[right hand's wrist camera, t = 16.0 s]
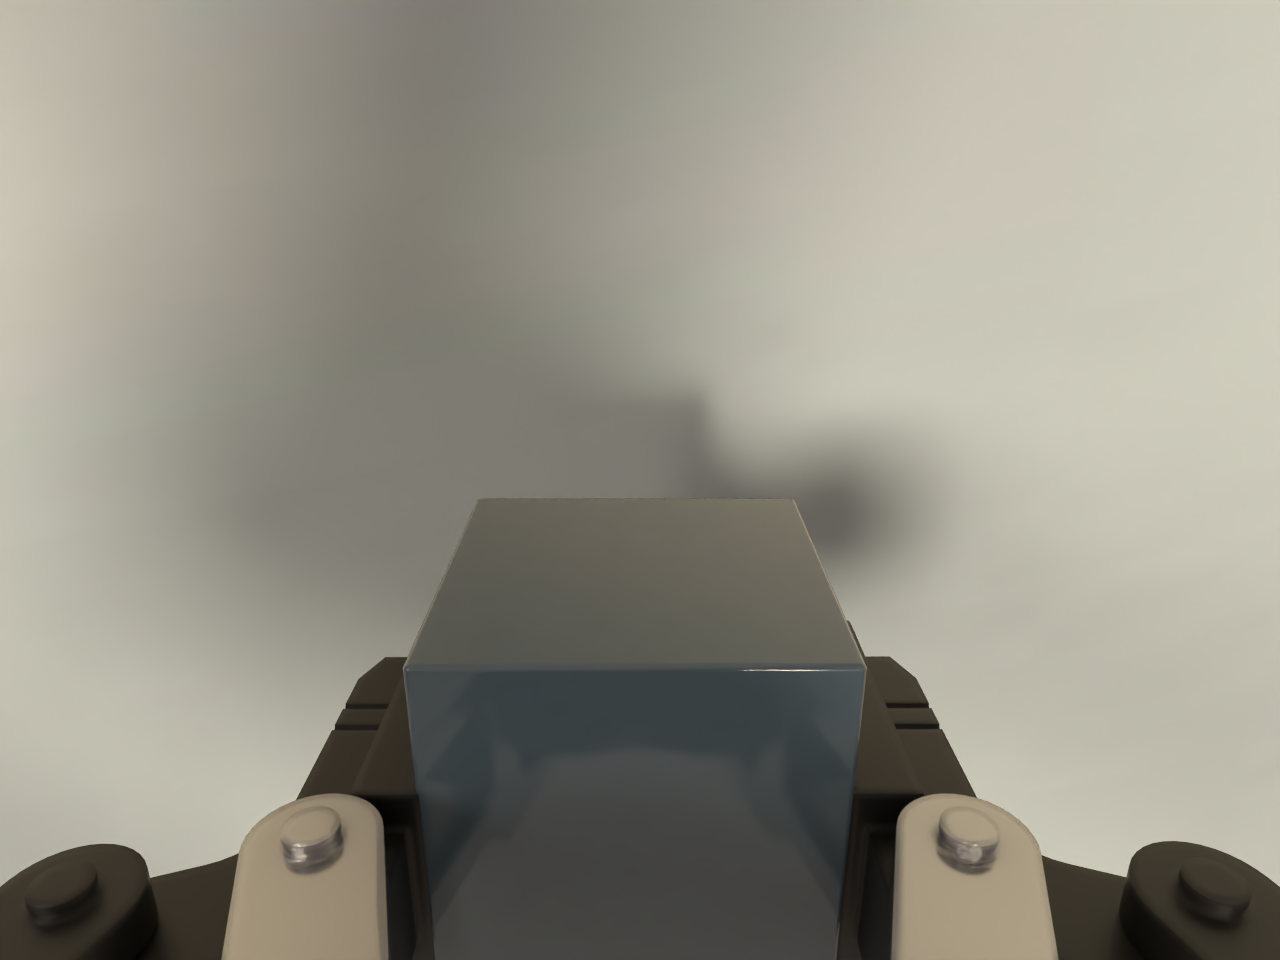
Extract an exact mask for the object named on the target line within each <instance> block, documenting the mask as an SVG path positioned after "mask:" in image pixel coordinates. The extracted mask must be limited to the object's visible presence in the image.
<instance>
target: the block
mask: <svg viewBox="0 0 1280 960" xmlns="http://www.w3.org/2000/svg"><path fill="white" fill-rule="evenodd" d="M866 672H867V668H866V665H865V663H864V660H863V658H862V656H861V653H860V651H859V649H858V646H857V644H856V642H855V639H854V637H853V635H852V632H851V630H850V628H849V625H848V623H847V621H846V618H845V616H844V614H843V611H842V609H841V607H840V605H839V602H838V600H837V598H836V595H835V593H834V591H833V588H832V586H831V584H830V581H829V579H828V577H827V574H826V572H825V570H824V567H823V565H822V563H821V560H820V558H819V556H818V554H817V551H816V549H815V547H814V544H813V542H812V540H811V537H810V535H809V533H808V530H807V528H806V526H805V523H804V521H803V519H802V516H801V514H800V512H799V509H798V507H797V505H796V503H795V500H793V499H479V500H477V503H476V505H475V507H474V509H473V512H472V514H471V516H470V518H469V521H468V523H467V525H466V527H465V530H464V532H463V534H462V536H461V539H460V541H459V543H458V545H457V547H456V550H455V552H454V554H453V556H452V559H451V561H450V563H449V565H448V568H447V570H446V572H445V574H444V577H443V579H442V581H441V583H440V586H439V588H438V590H437V592H436V595H435V597H434V599H433V601H432V604H431V606H430V608H429V610H428V613H427V615H426V617H425V619H424V622H423V624H422V626H421V628H420V631H419V633H418V635H417V637H416V639H415V642H414V644H413V646H412V648H411V651H410V653H409V655H408V657H407V660H406V662H405V664H404V667H403V675H404V685H405V694H406V704H407V713H408V723H409V732H410V742H411V751H412V761H413V770H414V780H415V789H416V794H417V795H419V804H420V814H421V823H422V833H423V843H424V853H425V863H426V872H427V882H428V892H429V902H430V912H431V922H432V931H433V941H434V951H435V960H837V951H838V941H839V931H840V921H841V911H842V902H843V892H844V882H845V872H846V862H847V853H848V843H849V833H850V823H851V813H852V804H853V794H854V790H855V780H856V770H857V760H858V750H859V741H860V731H861V721H862V711H863V702H864V692H865V682H866Z"/></svg>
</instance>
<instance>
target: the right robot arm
mask: <svg viewBox="0 0 1280 960" xmlns="http://www.w3.org/2000/svg"><path fill="white" fill-rule="evenodd" d="M846 621H847V620H846ZM847 623H848V625H849V628H850V630H851V632H852V635H853V637H854V639H855V642H856V644H857V646H858V649H859V651H860V653H861V656H862V658H863V660H864V663H865V665H866V668H867V672H866V682H865V692H864V702H863V711H862V721H861V731H860V741H859V750H858V760H857V770H856V780H855V790H854V794H853V804H852V813H851V823H850V833H849V843H848V853H847V862H846V872H845V882H844V892H843V902H842V911H841V921H840V931H839V941H838V951H837V960H1280V887H1279V886H1278V885H1276V884H1275V883H1274V882H1273V881H1271V880H1270V879H1269V878H1268V877H1266V876H1265V875H1263V874H1262V873H1261V872H1259V871H1258V870H1256V869H1255V868H1253V867H1252V866H1250V865H1248V864H1246V863H1245V862H1243V861H1241V860H1239V859H1237V858H1235V857H1233V856H1231V855H1229V854H1226V853H1224V852H1221V851H1218V850H1216V849H1213V848H1209V847H1206V846H1202V845H1198V844H1193V843H1188V842H1178V841H1166V842H1158V843H1152V844H1150V845H1147V846H1145V847H1143V848H1141V849H1140V850H1138V851H1137V852H1136V853H1135V855H1134V856H1133V857H1132V859H1131V862H1130V865H1129V869H1128V873H1127V877H1122V876H1118V875H1113V874H1109V873H1105V872H1101V871H1096V870H1092V869H1088V868H1084V867H1079V866H1075V865H1071V864H1067V863H1063V862H1060V861H1056V860H1053V859H1050V858H1047V857H1045V856H1042V855H1041V852H1040V848H1039V845H1038V843H1037V841H1036V839H1035V837H1034V836H1033V835H1032V833H1031V832H1030V831H1029V829H1028V828H1027V827H1026V826H1025V825H1024V824H1023V823H1022V822H1021V821H1020V820H1018V819H1017V818H1016V817H1014V816H1013V815H1012V814H1010V813H1009V812H1007V811H1005V810H1004V809H1002V808H1000V807H998V806H996V805H994V804H992V803H989V802H987V801H984V800H981V799H978V798H977V797H976V795H975V793H974V791H973V789H972V787H971V785H970V783H969V781H968V779H967V777H966V775H965V773H964V771H963V770H962V768H961V766H960V764H959V762H958V760H957V758H956V756H955V754H954V752H953V750H952V748H951V746H950V744H949V742H948V740H947V738H946V736H945V734H944V732H943V730H942V729H940V728H939V722H938V720H937V718H936V717H935V715H934V713H933V711H932V709H931V708H929V703H928V701H927V699H926V697H925V695H924V693H923V691H922V689H921V687H920V685H919V683H918V681H917V679H916V678H915V677H914V676H913V675H911V674H910V673H909V672H908V671H906V670H905V669H904V668H903V667H902V666H900V665H899V664H898V663H897V662H895V661H894V660H893V659H892V658H891V657H865V656H864V653H863V651H862V649H861V646H860V644H859V642H858V639H857V637H856V635H855V632H854V630H853V628H852V625H851V624H850V622H849V621H847ZM406 660H407V657H385V658H384V659H383V660H382V661H380V662H379V663H378V664H377V665H375V666H374V667H373V668H372V669H370V670H369V671H368V672H367V673H366V674H364V675H363V676H362V677H361V678H359V679H358V681H357V683H356V685H355V687H354V689H353V691H352V693H351V695H350V697H349V699H348V701H347V703H346V709H343V710H342V712H341V714H340V716H339V718H338V720H337V722H336V724H335V730H332V732H331V734H330V735H329V737H328V739H327V741H326V743H325V745H324V747H323V749H322V751H321V753H320V755H319V757H318V759H317V761H316V763H315V764H314V766H313V768H312V770H311V772H310V774H309V776H308V778H307V780H306V782H305V784H304V786H303V788H302V790H301V792H300V793H299V795H298V797H297V799H296V801H293V802H290V803H288V804H286V805H284V806H282V807H280V808H278V809H276V810H275V811H273V812H271V813H270V814H268V815H267V816H266V817H264V818H263V819H262V820H260V821H259V822H258V823H257V824H256V825H255V826H254V827H253V828H252V829H251V831H250V832H249V833H248V834H247V836H246V837H245V839H244V841H243V843H242V845H241V848H240V851H239V853H238V854H236V855H234V856H232V857H229V858H226V859H224V860H221V861H218V862H215V863H211V864H208V865H204V866H200V867H195V868H191V869H187V870H183V871H178V872H174V873H170V874H165V875H161V876H157V877H153V878H150V876H149V872H148V868H147V865H146V862H145V860H144V859H143V857H142V856H141V855H140V854H139V853H137V852H136V851H135V850H133V849H131V848H128V847H125V846H121V845H116V844H95V845H87V846H82V847H77V848H73V849H70V850H66V851H63V852H60V853H57V854H55V855H52V856H50V857H47V858H45V859H43V860H41V861H39V862H37V863H35V864H33V865H31V866H30V867H28V868H26V869H25V870H23V871H21V872H20V873H18V874H17V875H16V876H14V877H13V878H11V879H10V880H9V881H7V882H6V883H5V884H3V885H2V886H1V887H0V960H435V951H434V941H433V931H432V922H431V912H430V902H429V892H428V882H427V872H426V863H425V853H424V843H423V833H422V823H421V814H420V804H419V795H417V794H416V789H415V780H414V770H413V761H412V751H411V742H410V732H409V723H408V713H407V704H406V694H405V685H404V675H403V667H404V664H405V662H406Z"/></svg>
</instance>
